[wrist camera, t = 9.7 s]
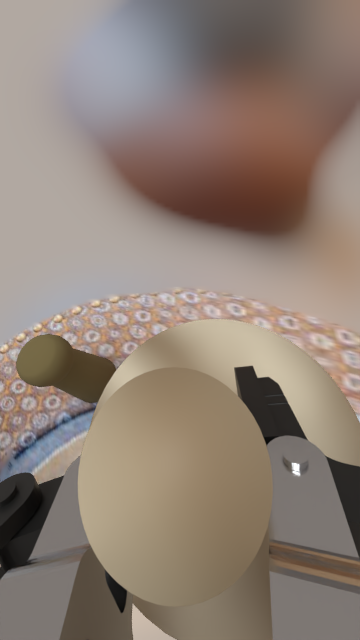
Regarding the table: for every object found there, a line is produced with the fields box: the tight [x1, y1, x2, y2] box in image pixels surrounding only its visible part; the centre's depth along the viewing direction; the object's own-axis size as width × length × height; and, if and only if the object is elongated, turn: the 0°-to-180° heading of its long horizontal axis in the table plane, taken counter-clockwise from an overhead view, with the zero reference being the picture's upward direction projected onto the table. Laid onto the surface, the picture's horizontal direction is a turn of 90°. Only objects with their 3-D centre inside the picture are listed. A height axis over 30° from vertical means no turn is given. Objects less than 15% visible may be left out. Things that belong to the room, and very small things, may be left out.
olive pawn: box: [16, 334, 116, 403], centre depth 26 cm, size 6×6×11 cm
